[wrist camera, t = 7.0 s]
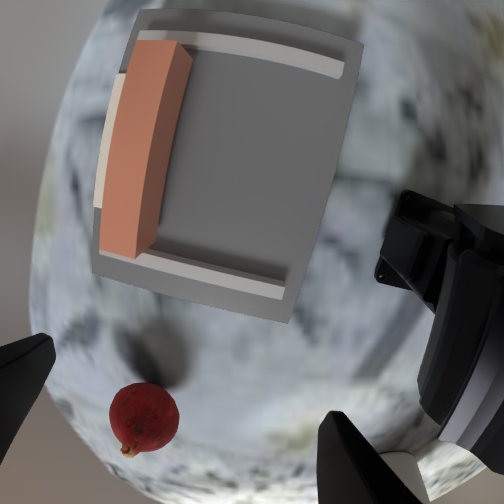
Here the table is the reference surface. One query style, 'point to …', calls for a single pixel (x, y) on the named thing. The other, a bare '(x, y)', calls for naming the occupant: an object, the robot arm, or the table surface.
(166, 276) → the box
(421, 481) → the cylinder vase
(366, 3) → the table surface
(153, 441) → the pomegranate
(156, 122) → the lever
